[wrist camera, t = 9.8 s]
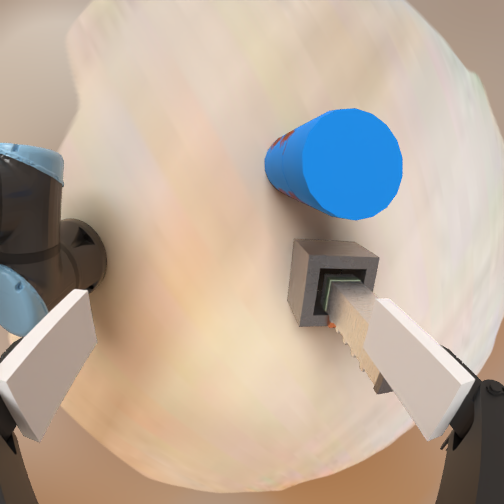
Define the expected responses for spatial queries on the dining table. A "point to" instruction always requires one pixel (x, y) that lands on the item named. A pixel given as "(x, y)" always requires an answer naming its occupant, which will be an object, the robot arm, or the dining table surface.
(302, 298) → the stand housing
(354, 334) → the column
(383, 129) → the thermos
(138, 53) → the dining table surface
